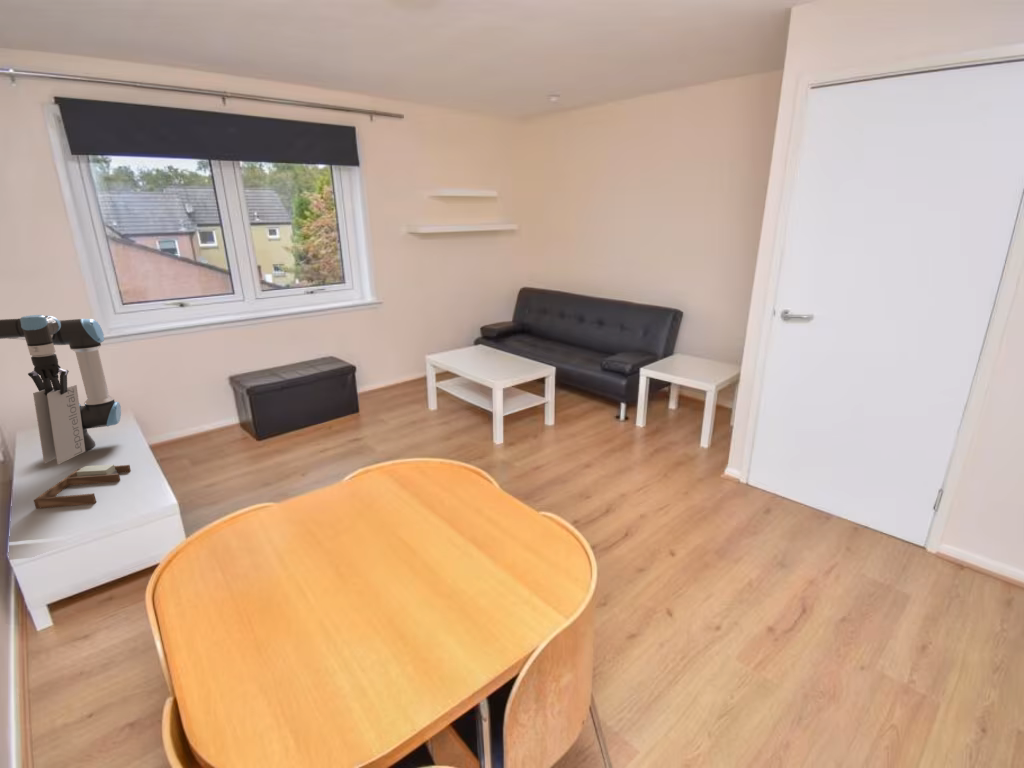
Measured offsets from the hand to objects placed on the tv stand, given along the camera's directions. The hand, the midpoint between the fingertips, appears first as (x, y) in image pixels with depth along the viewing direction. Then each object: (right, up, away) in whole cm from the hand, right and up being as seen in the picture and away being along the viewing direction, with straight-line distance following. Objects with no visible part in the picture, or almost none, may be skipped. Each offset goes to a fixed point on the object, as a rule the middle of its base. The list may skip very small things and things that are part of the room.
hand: (59, 410), depth 205 cm
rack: (+3, -35, +9) cm, 36 cm away
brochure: (-3, -20, +6) cm, 21 cm away
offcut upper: (+1, -29, +17) cm, 34 cm away
